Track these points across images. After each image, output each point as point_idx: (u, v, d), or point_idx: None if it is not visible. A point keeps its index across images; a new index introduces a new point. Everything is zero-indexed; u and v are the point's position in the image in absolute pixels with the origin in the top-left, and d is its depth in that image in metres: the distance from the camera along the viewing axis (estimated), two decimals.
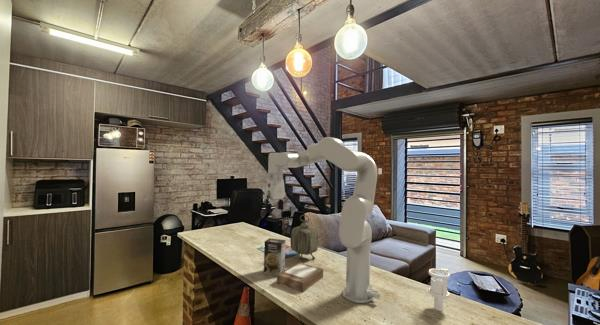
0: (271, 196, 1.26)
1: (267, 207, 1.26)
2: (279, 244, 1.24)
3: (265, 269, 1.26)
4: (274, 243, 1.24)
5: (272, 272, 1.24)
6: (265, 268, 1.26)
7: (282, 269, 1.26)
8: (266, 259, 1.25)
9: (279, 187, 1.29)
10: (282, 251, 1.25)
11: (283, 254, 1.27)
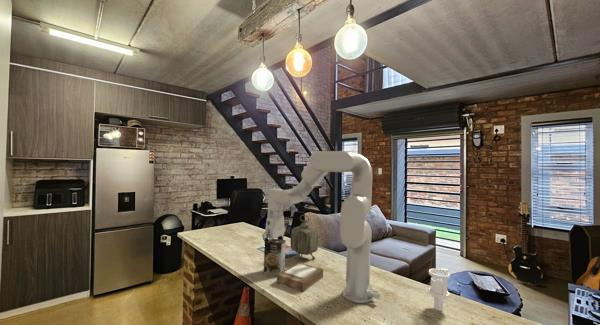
0: (271, 234, 1.23)
1: (266, 246, 1.23)
2: (279, 244, 1.24)
3: (265, 269, 1.26)
4: (274, 243, 1.24)
5: (272, 272, 1.24)
6: (265, 268, 1.26)
7: (282, 269, 1.26)
8: (266, 259, 1.25)
9: (279, 224, 1.26)
10: (282, 251, 1.25)
11: (283, 254, 1.27)
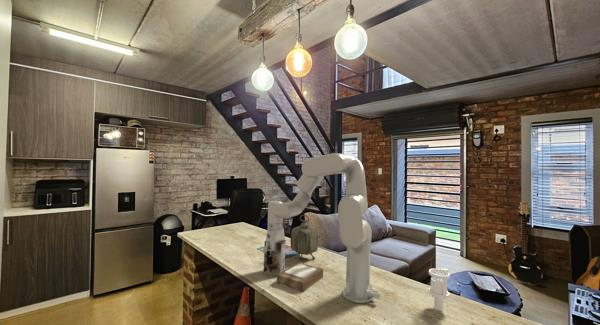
0: (271, 248, 1.22)
1: (268, 259, 1.23)
2: (279, 244, 1.24)
3: (265, 269, 1.26)
4: None
5: (272, 272, 1.24)
6: (265, 268, 1.26)
7: (282, 269, 1.26)
8: None
9: (279, 237, 1.26)
10: (282, 251, 1.25)
11: (283, 254, 1.27)
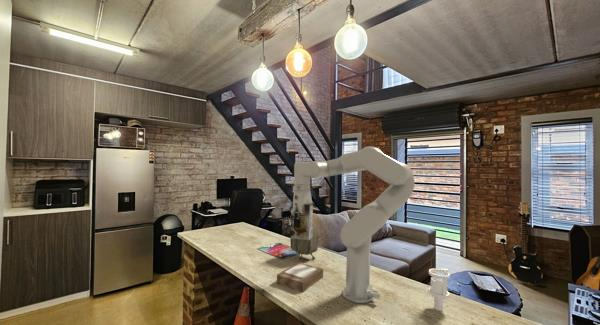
0: (299, 209, 1.15)
1: (296, 222, 1.16)
2: (307, 206, 1.16)
3: (292, 233, 1.18)
4: None
5: (300, 236, 1.17)
6: (292, 232, 1.18)
7: (310, 233, 1.18)
8: (293, 223, 1.18)
9: (306, 199, 1.19)
10: (310, 214, 1.18)
11: (311, 217, 1.19)
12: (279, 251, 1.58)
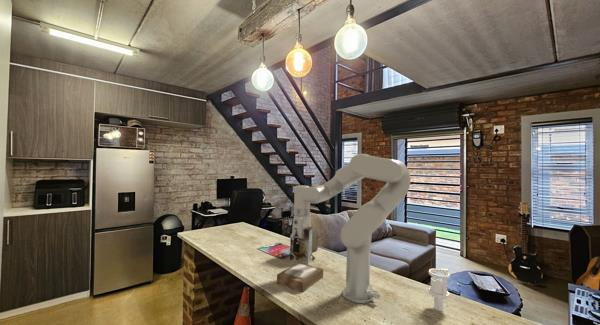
0: (298, 234, 1.15)
1: (295, 247, 1.16)
2: (307, 231, 1.16)
3: (291, 257, 1.18)
4: None
5: (299, 260, 1.17)
6: (291, 256, 1.18)
7: (309, 257, 1.18)
8: None
9: (306, 223, 1.18)
10: (310, 238, 1.18)
11: (310, 241, 1.19)
12: (279, 251, 1.58)
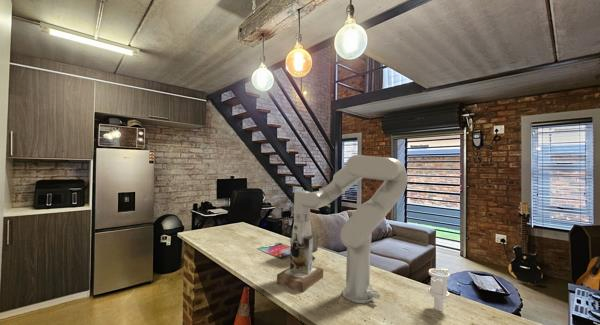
0: (298, 240, 1.15)
1: (294, 252, 1.15)
2: (307, 240, 1.16)
3: (291, 266, 1.18)
4: None
5: (299, 269, 1.17)
6: (292, 265, 1.18)
7: (310, 266, 1.18)
8: None
9: (306, 228, 1.18)
10: (310, 247, 1.17)
11: (310, 250, 1.19)
12: (279, 251, 1.58)
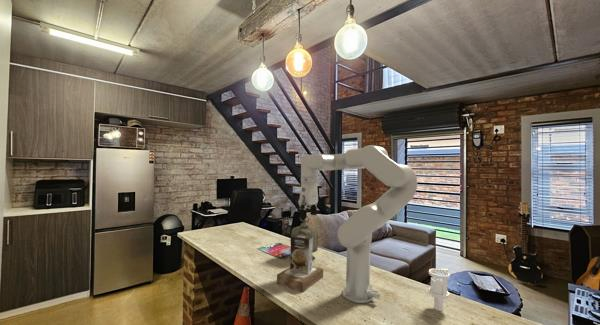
0: (306, 201, 1.17)
1: (302, 213, 1.17)
2: (307, 240, 1.16)
3: (291, 266, 1.18)
4: (301, 239, 1.17)
5: (299, 269, 1.17)
6: (292, 265, 1.18)
7: (310, 266, 1.18)
8: (293, 256, 1.18)
9: (313, 191, 1.21)
10: (310, 247, 1.17)
11: (310, 250, 1.19)
12: (279, 251, 1.58)
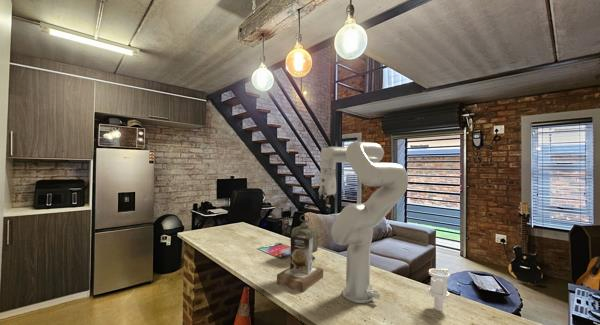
0: (326, 191, 1.26)
1: (322, 202, 1.26)
2: (307, 240, 1.16)
3: (291, 266, 1.18)
4: (301, 239, 1.17)
5: (299, 269, 1.17)
6: (292, 265, 1.18)
7: (310, 266, 1.18)
8: (293, 256, 1.18)
9: (332, 182, 1.29)
10: (310, 247, 1.17)
11: (310, 250, 1.19)
12: (279, 251, 1.58)
